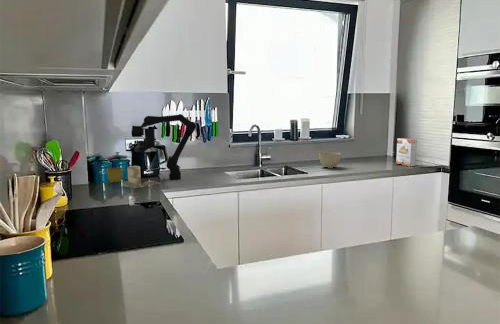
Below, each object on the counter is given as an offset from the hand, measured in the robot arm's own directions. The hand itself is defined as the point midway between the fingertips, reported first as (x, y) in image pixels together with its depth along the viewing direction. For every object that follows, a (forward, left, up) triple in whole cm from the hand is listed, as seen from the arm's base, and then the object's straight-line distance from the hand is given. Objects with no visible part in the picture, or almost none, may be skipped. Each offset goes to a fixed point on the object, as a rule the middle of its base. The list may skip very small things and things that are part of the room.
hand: (150, 162), depth 235 cm
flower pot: (+21, -3, -12) cm, 24 cm away
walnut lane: (+5, +14, -12) cm, 19 cm away
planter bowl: (-131, -14, -12) cm, 132 cm away
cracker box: (-190, -2, -12) cm, 190 cm away
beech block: (+10, +17, -10) cm, 23 cm away
